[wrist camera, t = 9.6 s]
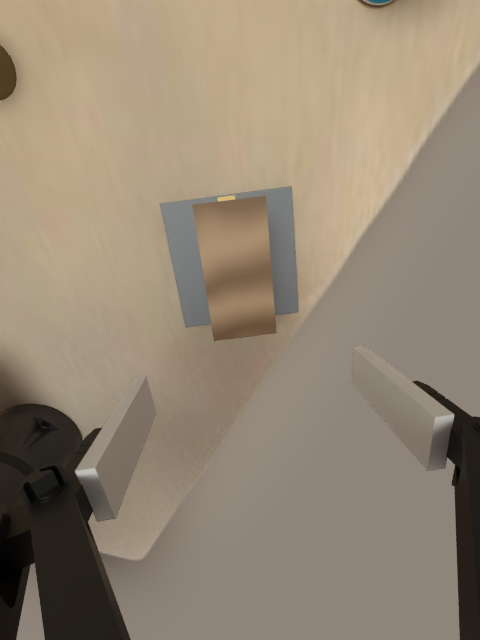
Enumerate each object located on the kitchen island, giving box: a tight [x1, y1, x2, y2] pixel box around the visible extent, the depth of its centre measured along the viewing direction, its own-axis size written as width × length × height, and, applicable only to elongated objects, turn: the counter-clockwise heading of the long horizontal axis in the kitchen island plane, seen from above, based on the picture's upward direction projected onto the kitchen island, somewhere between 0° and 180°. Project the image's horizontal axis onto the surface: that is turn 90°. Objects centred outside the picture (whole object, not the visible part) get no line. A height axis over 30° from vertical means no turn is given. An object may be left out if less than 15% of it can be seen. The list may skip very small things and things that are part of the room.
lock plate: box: [160, 186, 298, 327], centre depth 35 cm, size 18×18×8 cm
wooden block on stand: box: [192, 196, 276, 341], centre depth 32 cm, size 14×7×12 cm, turn 7°
